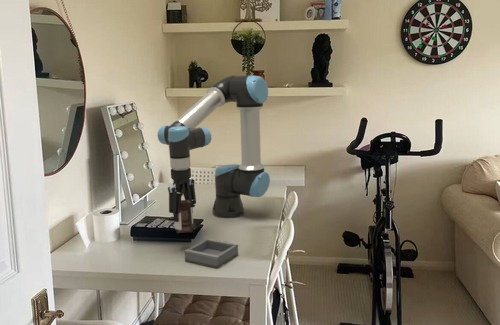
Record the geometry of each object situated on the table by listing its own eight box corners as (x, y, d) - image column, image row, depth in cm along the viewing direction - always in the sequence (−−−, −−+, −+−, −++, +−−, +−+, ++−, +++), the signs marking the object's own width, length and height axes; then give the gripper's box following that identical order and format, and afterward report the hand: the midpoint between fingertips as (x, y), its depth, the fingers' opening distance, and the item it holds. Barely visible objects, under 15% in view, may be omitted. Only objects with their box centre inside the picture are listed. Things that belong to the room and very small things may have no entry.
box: (192, 228, 195) (190, 199, 192) (192, 232, 190) (190, 202, 188) (176, 229, 194) (174, 200, 192) (176, 233, 190) (174, 203, 187)
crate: (206, 248, 193) (206, 238, 192) (238, 255, 186) (238, 244, 185) (184, 261, 181) (184, 250, 180) (217, 268, 174) (217, 257, 173)
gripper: (188, 161, 197) (191, 217, 202) (155, 172, 180) (160, 232, 185) (203, 163, 193) (206, 219, 198) (172, 174, 177) (176, 236, 182)
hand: (184, 226), depth 192 cm, fingers closed on box, 7 cm apart
